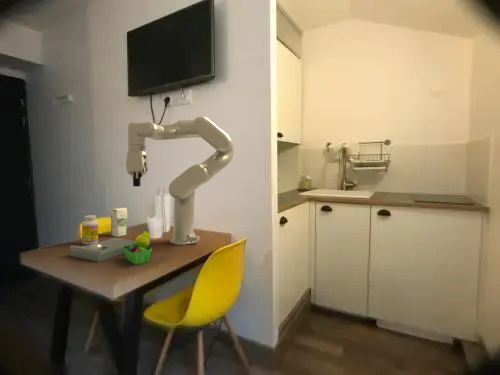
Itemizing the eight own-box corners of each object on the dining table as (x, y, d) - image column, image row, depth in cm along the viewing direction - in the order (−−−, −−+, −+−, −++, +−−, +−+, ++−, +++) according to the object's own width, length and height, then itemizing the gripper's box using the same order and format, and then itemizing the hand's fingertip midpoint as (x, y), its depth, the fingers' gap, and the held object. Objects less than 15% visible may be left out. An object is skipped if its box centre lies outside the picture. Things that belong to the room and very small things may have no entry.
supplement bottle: (91, 245, 130) (90, 217, 129) (78, 244, 131) (78, 216, 131) (101, 241, 137) (101, 215, 136) (89, 240, 138) (89, 214, 137)
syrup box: (121, 233, 154) (121, 207, 153) (127, 235, 150) (127, 208, 149) (111, 235, 149) (110, 208, 148) (117, 237, 146) (116, 209, 145)
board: (141, 247, 129) (141, 238, 129) (99, 261, 109) (98, 251, 108) (114, 243, 135) (114, 234, 135) (70, 255, 115) (70, 246, 114)
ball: (100, 258, 116) (107, 248, 119) (93, 251, 113) (101, 241, 116) (91, 255, 118) (99, 246, 121) (84, 249, 115) (92, 239, 118)
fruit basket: (121, 259, 112) (121, 231, 112) (143, 254, 119) (143, 228, 118) (133, 266, 104) (133, 236, 104) (156, 261, 111) (156, 233, 110)
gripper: (154, 149, 139) (154, 186, 140) (130, 149, 144) (130, 185, 145) (143, 148, 132) (143, 187, 133) (118, 148, 137) (119, 186, 138)
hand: (136, 186), depth 139 cm, fingers closed
